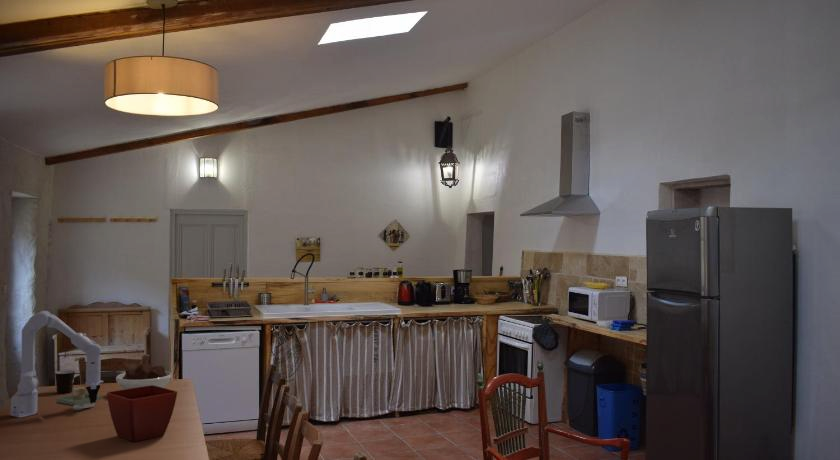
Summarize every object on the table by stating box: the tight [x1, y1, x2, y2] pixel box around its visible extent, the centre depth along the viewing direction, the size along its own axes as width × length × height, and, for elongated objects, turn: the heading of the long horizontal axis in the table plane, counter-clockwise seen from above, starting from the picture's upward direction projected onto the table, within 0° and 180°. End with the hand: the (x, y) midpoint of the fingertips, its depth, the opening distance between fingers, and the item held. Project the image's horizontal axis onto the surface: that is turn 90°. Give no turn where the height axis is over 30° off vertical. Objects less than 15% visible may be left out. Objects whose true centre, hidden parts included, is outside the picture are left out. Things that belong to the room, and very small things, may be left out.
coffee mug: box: [54, 369, 76, 395], centre depth 327 cm, size 12×9×10 cm
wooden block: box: [72, 386, 86, 401], centre depth 306 cm, size 4×4×6 cm
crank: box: [72, 395, 96, 412], centre depth 292 cm, size 10×4×5 cm, turn 150°
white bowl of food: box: [115, 363, 172, 390], centre depth 323 cm, size 25×25×15 cm
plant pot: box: [106, 385, 178, 443], centre depth 255 cm, size 19×19×17 cm
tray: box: [56, 392, 102, 406], centre depth 306 cm, size 13×13×2 cm
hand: (92, 402), depth 293 cm, fingers closed, pressing on crank
